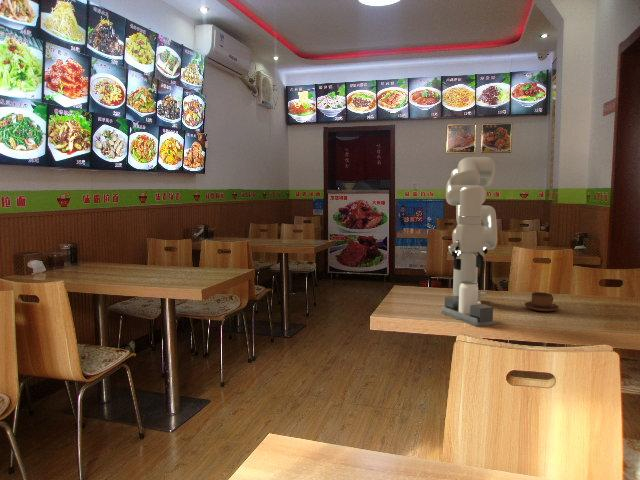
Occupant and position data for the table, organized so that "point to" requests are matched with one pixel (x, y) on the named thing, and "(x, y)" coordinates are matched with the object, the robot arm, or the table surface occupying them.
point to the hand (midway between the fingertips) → (468, 268)
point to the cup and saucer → (541, 302)
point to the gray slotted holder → (478, 313)
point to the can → (467, 296)
